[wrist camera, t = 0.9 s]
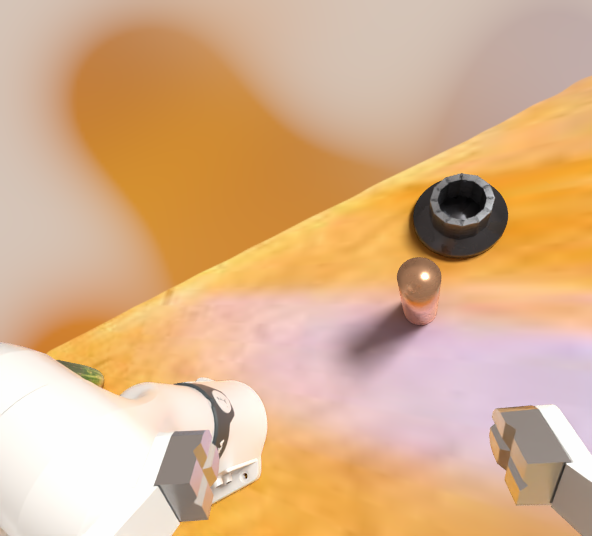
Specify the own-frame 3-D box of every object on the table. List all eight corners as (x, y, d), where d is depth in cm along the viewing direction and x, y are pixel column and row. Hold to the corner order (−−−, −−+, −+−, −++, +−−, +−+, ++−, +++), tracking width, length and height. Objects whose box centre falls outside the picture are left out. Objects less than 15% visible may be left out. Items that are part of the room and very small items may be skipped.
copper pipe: (419, 331, 58) (418, 305, 44) (396, 308, 60) (388, 276, 46) (444, 310, 58) (450, 277, 44) (420, 287, 60) (419, 249, 46)
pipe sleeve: (458, 275, 59) (462, 261, 53) (396, 220, 65) (393, 201, 60) (526, 217, 59) (538, 196, 53) (457, 167, 65) (460, 143, 59)
